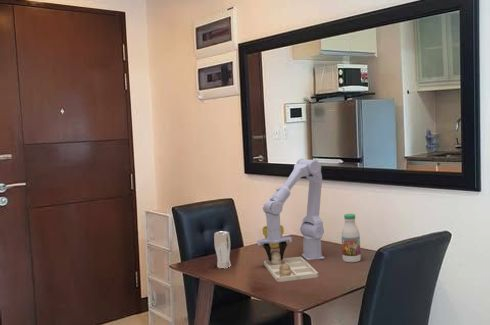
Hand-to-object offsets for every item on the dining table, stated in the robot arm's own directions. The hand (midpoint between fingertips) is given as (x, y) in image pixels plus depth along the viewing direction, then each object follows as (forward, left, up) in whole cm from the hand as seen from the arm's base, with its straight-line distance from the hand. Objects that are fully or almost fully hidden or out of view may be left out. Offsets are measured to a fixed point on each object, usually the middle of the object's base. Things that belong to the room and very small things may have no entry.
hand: (275, 260), depth 219 cm
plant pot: (-34, +7, -3) cm, 35 cm away
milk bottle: (+2, +33, -3) cm, 33 cm away
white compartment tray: (+8, +4, -3) cm, 9 cm away
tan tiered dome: (+16, 0, -3) cm, 16 cm away
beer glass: (-10, -21, -3) cm, 24 cm away
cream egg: (0, 0, -1) cm, 1 cm away
